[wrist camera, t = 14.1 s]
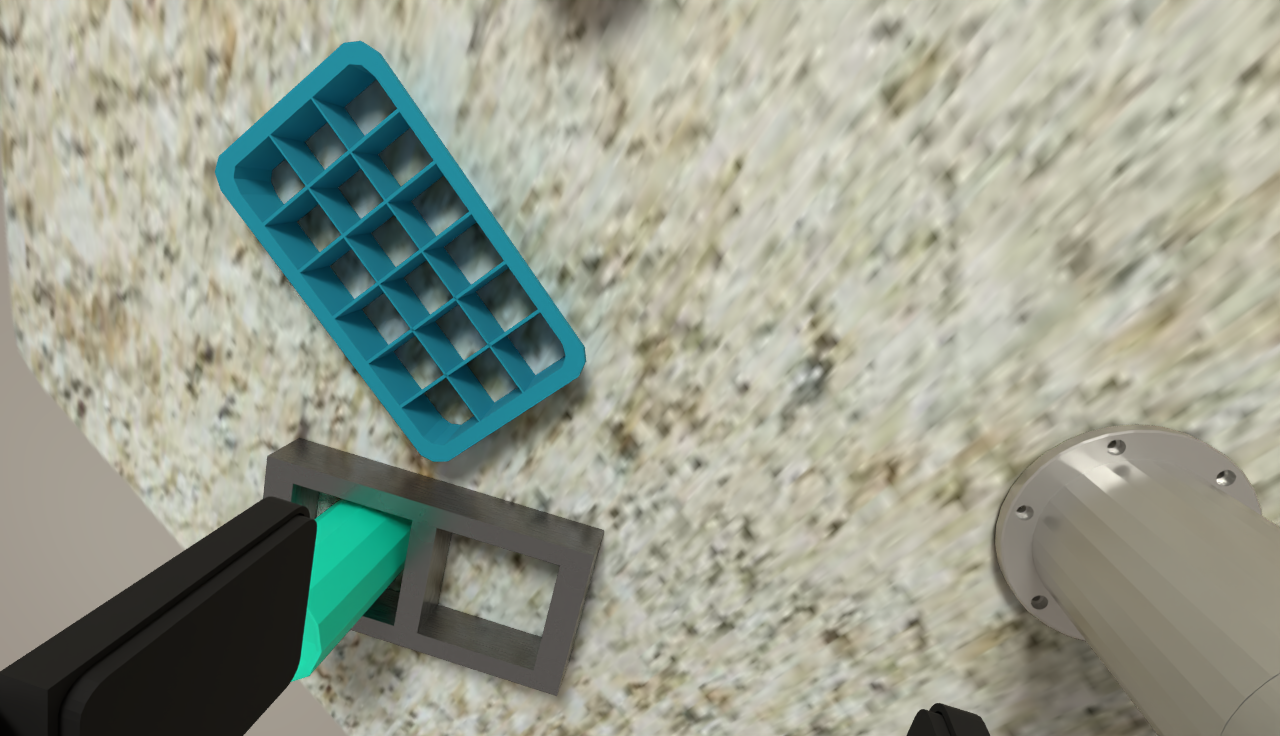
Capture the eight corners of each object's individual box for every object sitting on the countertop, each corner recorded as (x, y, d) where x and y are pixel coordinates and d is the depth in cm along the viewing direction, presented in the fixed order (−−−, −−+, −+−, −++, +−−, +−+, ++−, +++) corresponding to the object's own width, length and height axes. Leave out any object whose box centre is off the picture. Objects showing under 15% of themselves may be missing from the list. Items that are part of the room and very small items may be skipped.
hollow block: (604, 530, 41) (594, 556, 38) (568, 662, 44) (556, 696, 41) (299, 437, 43) (267, 456, 40) (283, 572, 45) (253, 598, 43)
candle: (316, 498, 44) (165, 609, 32) (399, 481, 42) (273, 590, 31) (349, 580, 45) (214, 715, 33) (430, 566, 44) (319, 701, 32)
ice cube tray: (453, 451, 42) (432, 471, 39) (243, 170, 39) (204, 169, 36) (606, 352, 39) (595, 365, 36) (390, 40, 36) (360, 27, 33)
